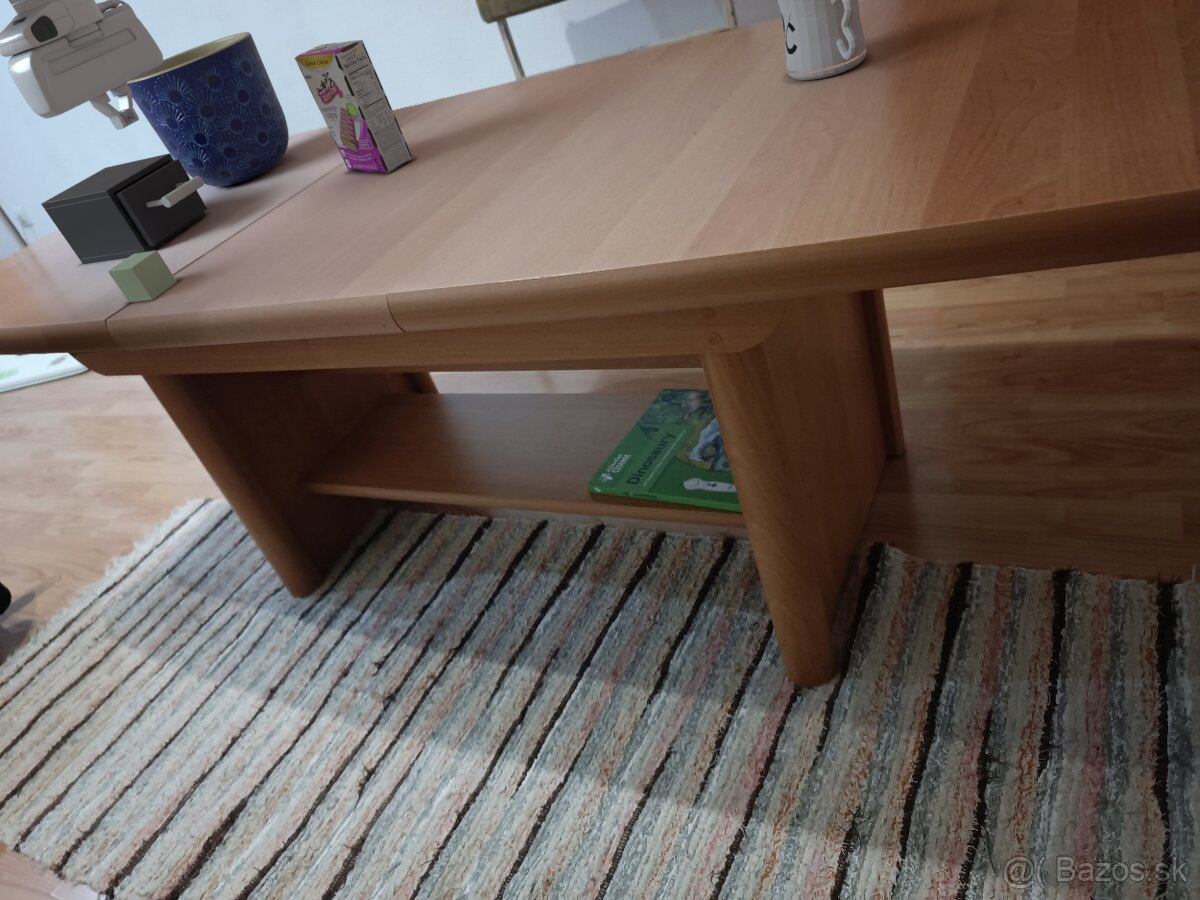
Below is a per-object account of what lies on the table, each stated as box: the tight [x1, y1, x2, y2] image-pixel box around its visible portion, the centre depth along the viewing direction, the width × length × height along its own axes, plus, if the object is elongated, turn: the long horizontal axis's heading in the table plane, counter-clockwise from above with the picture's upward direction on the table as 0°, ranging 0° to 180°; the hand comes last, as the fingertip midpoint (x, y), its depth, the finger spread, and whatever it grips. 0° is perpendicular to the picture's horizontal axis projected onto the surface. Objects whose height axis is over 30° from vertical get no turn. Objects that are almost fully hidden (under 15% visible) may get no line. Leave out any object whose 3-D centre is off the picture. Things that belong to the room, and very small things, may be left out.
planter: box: [126, 31, 290, 188], centre depth 140 cm, size 21×21×19 cm
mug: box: [777, 0, 868, 81], centre depth 96 cm, size 12×9×10 cm
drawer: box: [114, 159, 208, 246], centre depth 126 cm, size 18×11×8 cm, turn 69°
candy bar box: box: [294, 39, 414, 174], centre depth 119 cm, size 11×5×16 cm, turn 47°
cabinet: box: [40, 152, 206, 264], centre depth 128 cm, size 15×13×10 cm
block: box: [107, 249, 178, 303], centre depth 106 cm, size 4×4×4 cm
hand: (128, 125), depth 117 cm, fingers closed
